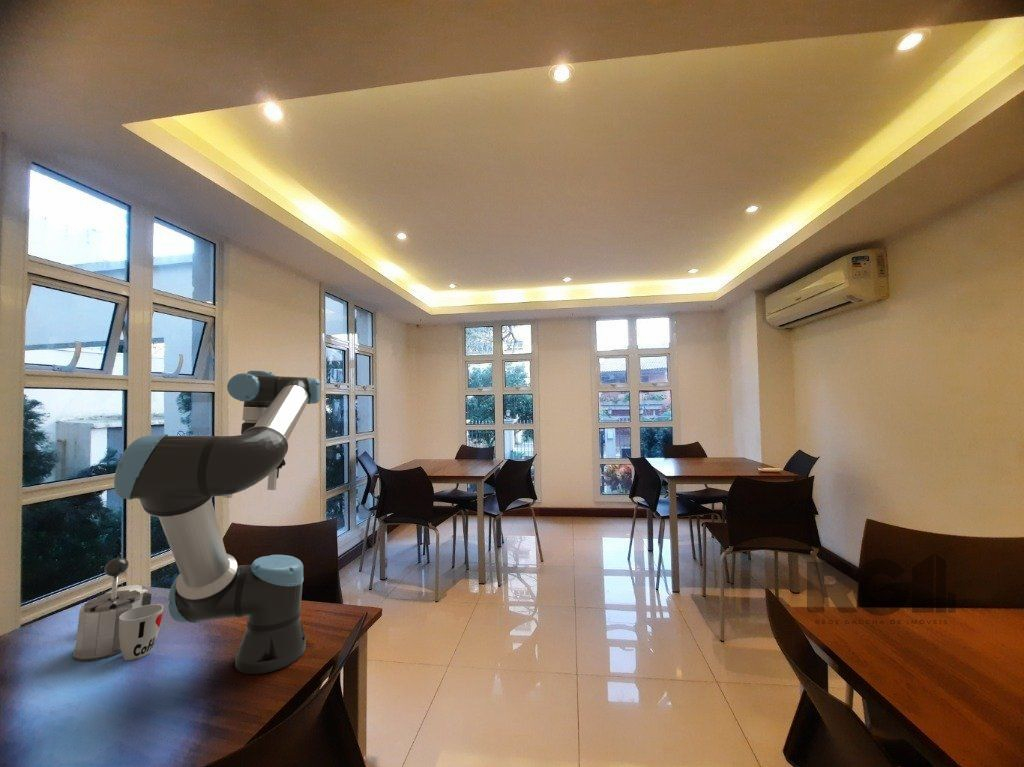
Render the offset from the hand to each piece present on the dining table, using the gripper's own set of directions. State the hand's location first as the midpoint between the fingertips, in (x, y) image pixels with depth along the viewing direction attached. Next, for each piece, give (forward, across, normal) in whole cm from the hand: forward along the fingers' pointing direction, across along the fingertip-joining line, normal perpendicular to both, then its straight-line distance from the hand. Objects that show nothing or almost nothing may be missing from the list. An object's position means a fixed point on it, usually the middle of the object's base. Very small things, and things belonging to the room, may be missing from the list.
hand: (250, 493), depth 116 cm
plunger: (+35, +21, -18) cm, 45 cm away
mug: (+36, +13, -29) cm, 49 cm away
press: (+37, +21, -18) cm, 46 cm away
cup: (+37, +20, -8) cm, 43 cm away
